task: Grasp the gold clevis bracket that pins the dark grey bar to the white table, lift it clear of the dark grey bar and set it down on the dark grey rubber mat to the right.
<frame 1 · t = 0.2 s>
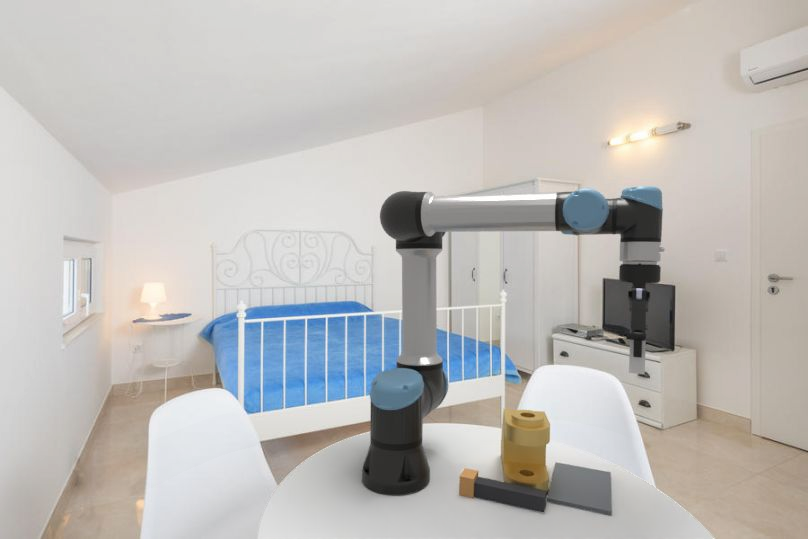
hand: (636, 366, 95), 28 cm above the table, fingers open, 13 cm apart
mat: (580, 487, 99), on the table
gold clevis bracket: (523, 477, 104), on the table
dark grey bar: (509, 501, 93), on the table
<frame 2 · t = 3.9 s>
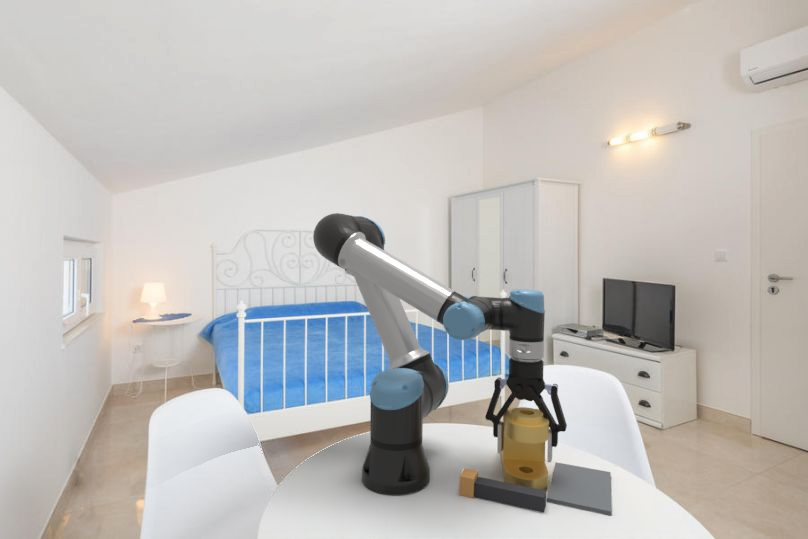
hand: (524, 455, 104), 5 cm above the table, fingers closed on gold clevis bracket, 10 cm apart
gold clevis bracket: (523, 474, 106), on the table, touching gripper
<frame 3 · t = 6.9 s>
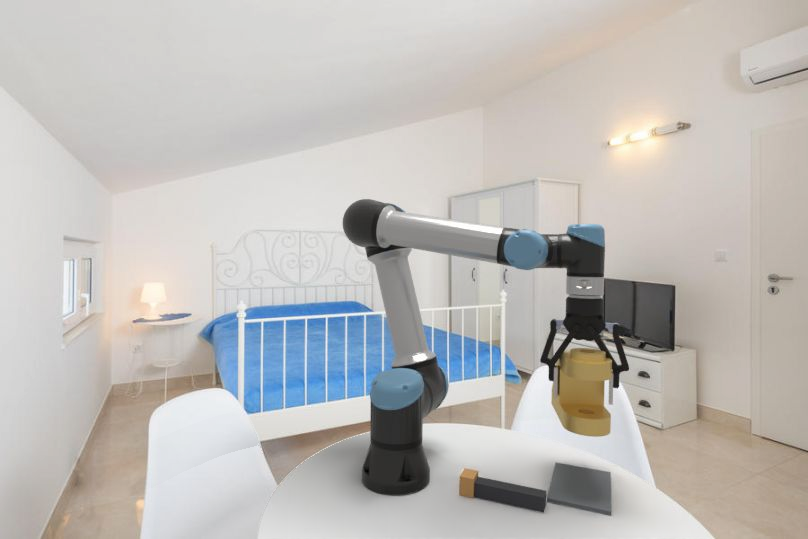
hand: (582, 399, 99), 19 cm above the table, fingers closed on gold clevis bracket, 10 cm apart
gold clevis bracket: (580, 419, 100), point 14 cm above the table, touching gripper
when the fingers open (7 cm above the table, at t = 10.0 s): gold clevis bracket drops 1 cm, resting on mat.
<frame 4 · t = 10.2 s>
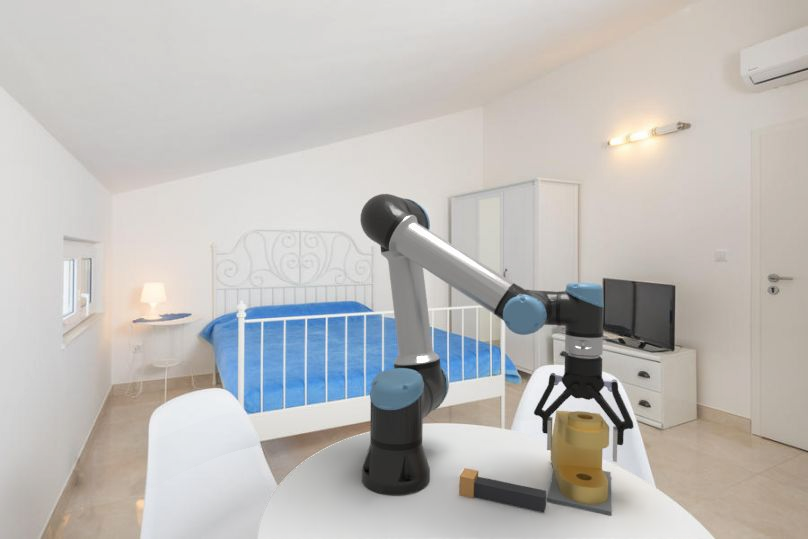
hand: (581, 453, 99), 8 cm above the table, fingers open, 12 cm apart
gold clevis bracket: (578, 481, 101), point 1 cm above the table, touching mat
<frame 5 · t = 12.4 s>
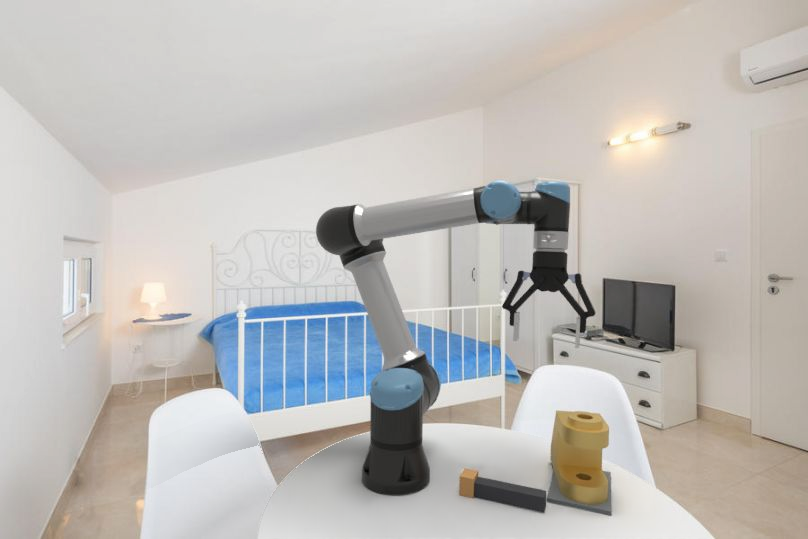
hand: (545, 343, 105), 30 cm above the table, fingers open, 13 cm apart
nothing on the table moved.
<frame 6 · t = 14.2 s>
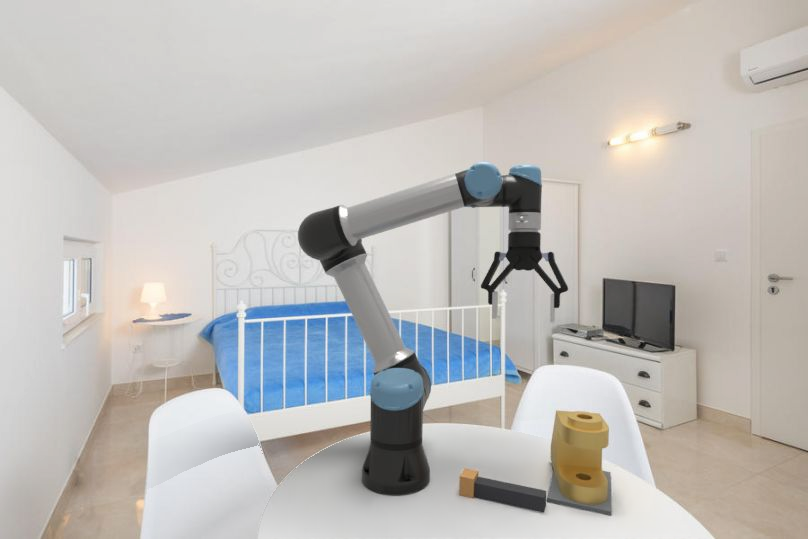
hand: (522, 320, 110), 35 cm above the table, fingers open, 13 cm apart
nothing on the table moved.
at the end: gold clevis bracket inside the target area on the mat (1.7 cm from its centre), point 0.6 cm above the mat's base; gold clevis bracket touching mat; the gripper is holding nothing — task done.
